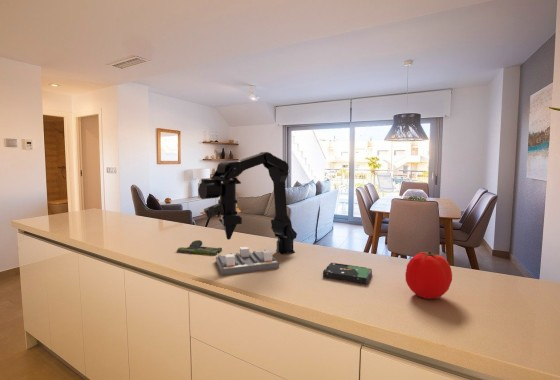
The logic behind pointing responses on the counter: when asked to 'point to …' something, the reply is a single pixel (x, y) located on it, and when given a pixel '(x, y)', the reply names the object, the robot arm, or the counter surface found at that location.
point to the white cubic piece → (267, 255)
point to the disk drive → (348, 273)
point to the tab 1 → (230, 260)
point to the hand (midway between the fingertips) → (228, 239)
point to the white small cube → (244, 251)
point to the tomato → (428, 275)
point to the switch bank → (246, 263)
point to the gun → (199, 249)
